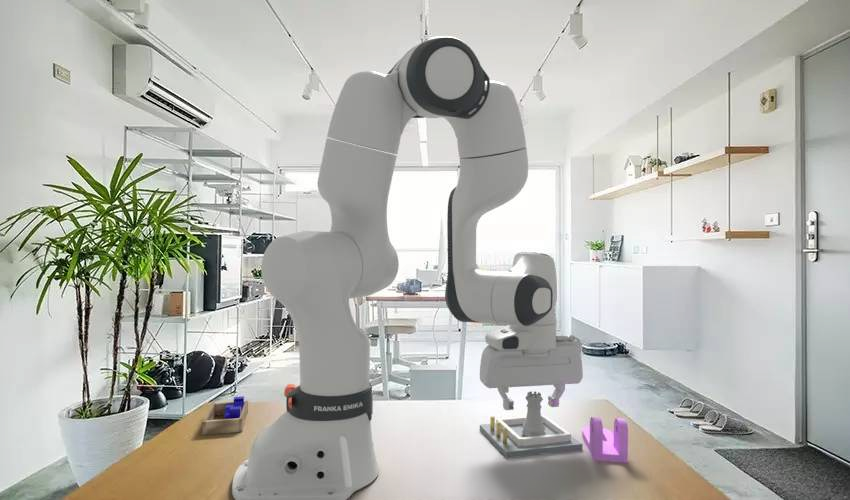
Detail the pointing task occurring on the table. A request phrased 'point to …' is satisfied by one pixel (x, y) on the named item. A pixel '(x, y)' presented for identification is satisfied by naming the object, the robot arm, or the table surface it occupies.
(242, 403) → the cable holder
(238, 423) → the box
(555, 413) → the table surface
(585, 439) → the bracket
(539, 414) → the rook chess piece
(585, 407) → the table surface
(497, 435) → the board
